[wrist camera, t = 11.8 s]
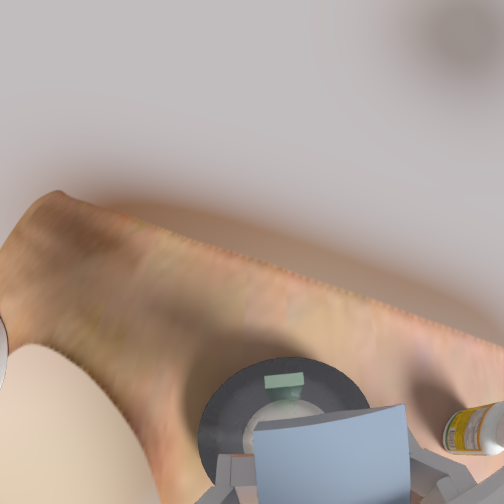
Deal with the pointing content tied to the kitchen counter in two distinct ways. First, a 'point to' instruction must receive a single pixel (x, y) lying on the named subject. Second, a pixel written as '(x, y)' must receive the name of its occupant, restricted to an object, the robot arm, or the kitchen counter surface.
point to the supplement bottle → (476, 431)
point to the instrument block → (334, 458)
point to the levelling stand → (270, 403)
